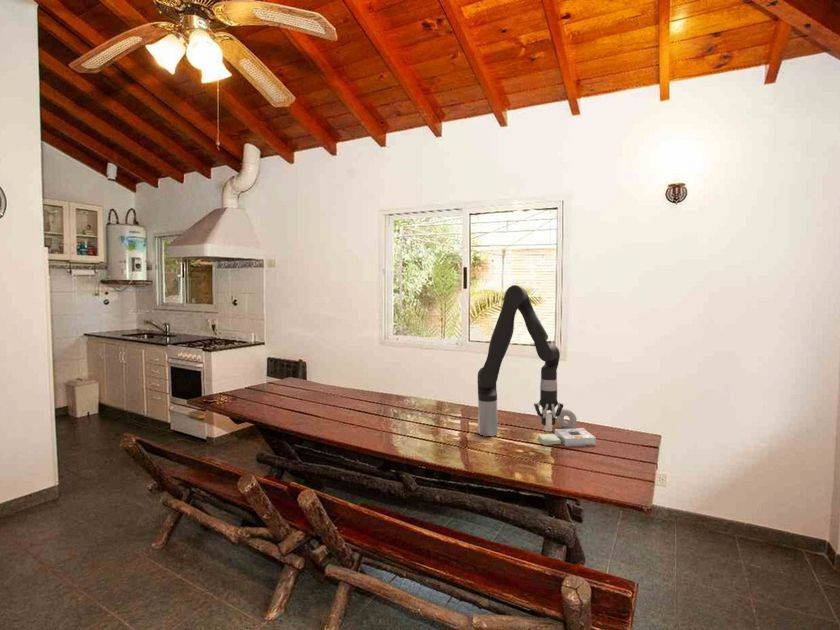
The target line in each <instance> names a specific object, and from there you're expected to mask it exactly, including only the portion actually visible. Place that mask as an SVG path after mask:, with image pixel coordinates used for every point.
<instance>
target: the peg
mask: <svg viewBox="0 0 840 630" xmlns="http://www.w3.org/2000/svg"><path fill="white" fill-rule="evenodd" d="M545 418H546V425H545V426H544V425H543V426H544V427H543V428H544V431H545V432H552V431H553V426H552V413H551V411H550V412H548V411H547V413H546V416H545Z"/></svg>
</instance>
